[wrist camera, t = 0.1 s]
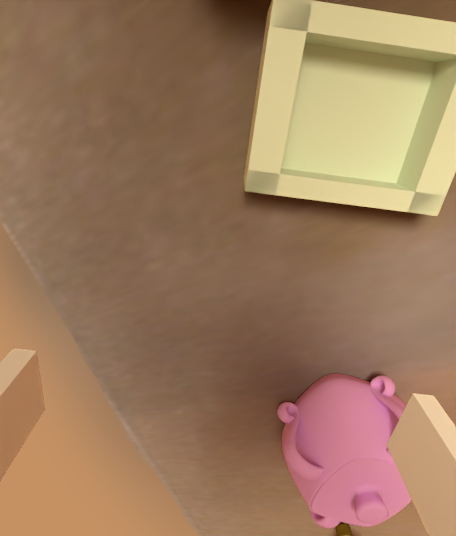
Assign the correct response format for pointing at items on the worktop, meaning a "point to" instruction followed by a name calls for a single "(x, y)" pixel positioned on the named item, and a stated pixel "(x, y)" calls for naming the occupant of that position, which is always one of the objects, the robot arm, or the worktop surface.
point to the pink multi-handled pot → (345, 450)
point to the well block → (354, 107)
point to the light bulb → (343, 530)
